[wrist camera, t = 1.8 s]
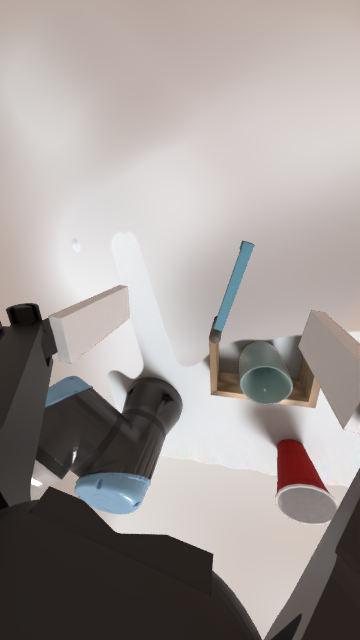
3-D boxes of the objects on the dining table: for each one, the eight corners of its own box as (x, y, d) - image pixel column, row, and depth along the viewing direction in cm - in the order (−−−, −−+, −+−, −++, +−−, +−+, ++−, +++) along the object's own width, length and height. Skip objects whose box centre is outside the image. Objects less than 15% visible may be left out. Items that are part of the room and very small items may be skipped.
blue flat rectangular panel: (224, 315, 38) (222, 331, 32) (217, 312, 38) (213, 328, 32) (250, 242, 32) (254, 244, 26) (242, 240, 32) (243, 242, 26)
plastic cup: (328, 446, 44) (357, 513, 34) (297, 468, 49) (314, 532, 39) (283, 423, 45) (298, 482, 34) (258, 447, 50) (263, 504, 39)
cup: (231, 349, 41) (229, 380, 32) (263, 328, 37) (271, 357, 29) (255, 374, 42) (260, 411, 33) (288, 355, 38) (304, 392, 29)
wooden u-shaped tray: (213, 375, 45) (209, 403, 37) (212, 314, 39) (206, 332, 31) (306, 385, 40) (323, 419, 32) (321, 315, 34) (345, 338, 26)
